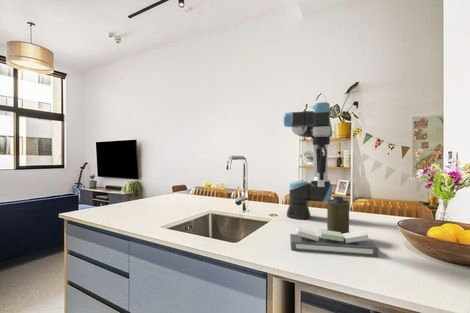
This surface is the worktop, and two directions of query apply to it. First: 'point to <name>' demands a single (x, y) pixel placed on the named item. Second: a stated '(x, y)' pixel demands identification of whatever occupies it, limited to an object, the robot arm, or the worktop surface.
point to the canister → (338, 215)
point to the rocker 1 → (307, 233)
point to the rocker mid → (331, 235)
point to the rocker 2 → (355, 236)
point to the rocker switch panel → (333, 246)
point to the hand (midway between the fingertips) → (321, 186)
